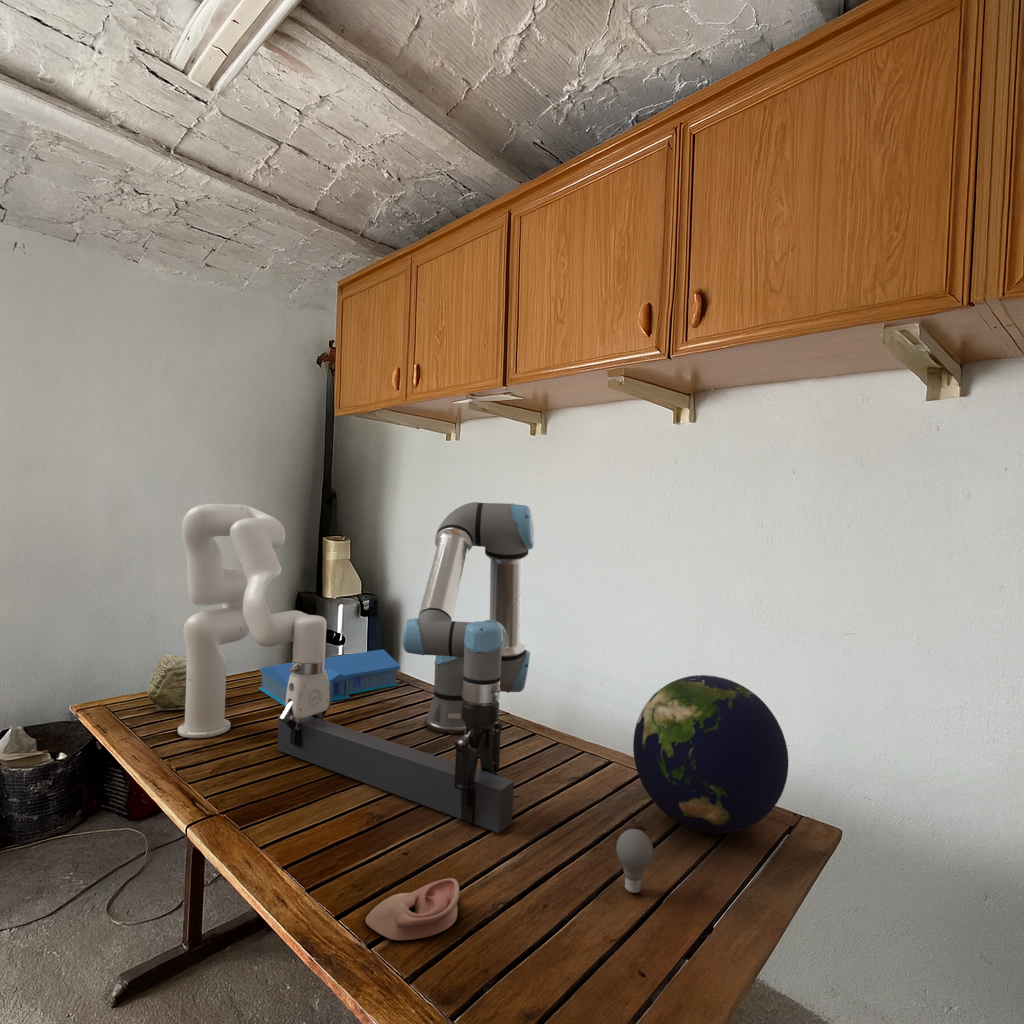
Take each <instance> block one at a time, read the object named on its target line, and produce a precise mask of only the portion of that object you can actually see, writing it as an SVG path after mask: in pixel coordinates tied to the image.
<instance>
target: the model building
mask: <svg viewBox="0 0 1024 1024" xmlns="http://www.w3.org/2000/svg"><path fill="white" fill-rule="evenodd" d="M290 667H292V662H287V663H278V664H272V665H268V666H264V667H263V666H262V667H260V668H259V672H260V673H261V686H260V687H258V690H260V691H261V692H262V693H264V694H265V695H267V696H268V697H270V698H271V699H273V700H274V701H276V702H277V703H279V704H280V705H282V706H283V707H285V704H286V693H287V687H288V682H289V678H290V674H292V672H290V670H289V668H290ZM400 669H401V665H400V664H399V663H398V662H397V661H396V660H395V659H394V658H393V657H392V656H391V654H389V653H388V652H387V651H386V650H385V649H376V650H368V651H363V652H356V653H349V654H342V655H341V654H340V655H335V656H329V657H328V656H327V657H325V668H324V670H326V671H327V674H328V681H329V701H330V702H331V703H332V702H335V701H341V700H346V699H347V700H348V699H350V698H351V695H353V694H359V693H364V692H365V693H366V692H369V691H373V690H381V689H385V688H390V687H391V688H392V687H395V686H399V683H398V682H397V670H400Z"/></svg>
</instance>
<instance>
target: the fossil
mask: <svg viewBox="0 0 1024 1024" xmlns="http://www.w3.org/2000/svg"><path fill="white" fill-rule="evenodd" d="M186 666H187V657H186V656H183V657H182V656H178V655H175V654H174V655H173V654H165V655H164V656H163V657H162V658H161V659H160V660H159V662H158V663H157V666H156V667H155V669H154V670H153V672H152V675H151V677H150V680H149V684H148V688H147V697H148V699H149V700H150V701H152V703H153V704H154V706H155V711H158V712H159V711H162V712H163V711H177V710H185V701H186Z"/></svg>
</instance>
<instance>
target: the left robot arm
mask: <svg viewBox="0 0 1024 1024" xmlns="http://www.w3.org/2000/svg"><path fill="white" fill-rule="evenodd" d="M285 530H286V529H285V527H284V525H283V524H282V523H281V521H280V520H278V519H277V518H275V517H274V516H272V515H269V514H267V513H265V512H264V511H261V510H259V509H258V508H257V509H256V508H255V507H252V506H250V505H247V504H240V503H238V504H237V503H206V504H199V505H196V506H194V507H192V508H191V509H189V510H188V511H187V512H186V514H185V515H184V517H183V519H182V523H181V537H182V540H183V541H182V542H183V545H184V549H185V554H186V556H185V557H186V577H187V579H186V580H187V591H188V592H187V593H188V599H189V601H190V602H191V603H192V604H193V605H195V606H200V607H207V606H208V607H209V606H213V605H220V604H221V608H215V609H209V610H204V611H199V612H196V613H194V614H192V615H191V616H189V617H188V618H187V619H186V620H185V622H184V624H183V629H182V631H183V632H182V634H183V640H184V646H185V657H187V666H186V701H185V709H184V722H182V724H180V725H179V726H178V727H177V734H178V735H179V736H180V737H182V738H188V739H207V738H212V737H216V736H220V735H222V734H224V733H227V732H228V731H230V729H231V727H232V725H231V723H232V722H231V721H230V720H228V719H226V718H225V715H226V692H227V691H226V689H227V659H226V657H225V654H224V653H223V651H222V649H221V646H222V645H226V644H230V643H235V642H237V641H241V640H243V639H245V638H246V637H247V636H248V635H249V633H250V635H251V637H252V638H253V640H254V641H255V642H256V643H257V644H258V645H259V646H262V647H266V648H269V647H275V646H279V645H282V644H283V645H284V644H286V643H291V642H293V643H292V659H291V660H292V661H291V663H292V667H290V668H289V670H290V672H292V674H290V678H289V682H288V687H287V693H286V704H285V706H284V710H283V711H282V714H281V717H280V720H281V721H282V722H284V723H285V724H286V725H287V726H288V727H289V728H291V731H290V744H292V745H295V746H298V747H299V746H301V734H302V730H301V729H300V725H301V721H302V719H303V718H306V717H309V716H312V717H315V718H319V719H322V720H324V717H325V716H326V714H327V711H328V710H329V709H330V707H331V706H332V701H331V702H330V701H329V681H328V674H327V671H326V670H324V668H325V658H326V646H327V645H326V643H327V620H326V618H325V617H324V616H322V615H317V614H308V613H307V612H306V613H305V612H303V611H300V610H296V609H295V610H293V609H292V610H286V611H280V612H276V613H271V612H270V610H269V607H268V605H267V600H266V590H267V587H268V586H269V584H270V583H271V582H273V581H274V580H276V579H277V578H278V577H279V576H280V575H281V573H282V566H281V563H280V561H279V559H278V556H277V554H276V552H275V549H279V548H280V547H282V546H283V544H284V543H285V540H286V531H285ZM214 537H230V541H231V543H232V545H233V549H234V551H235V553H236V557H237V558H238V561H239V564H240V566H241V568H242V570H241V569H240V568H237V567H232V566H231V567H224V565H223V553H222V550H221V548H220V546H219V544H218V542H217V541H216V540H215V539H214ZM290 715H291V717H290V719H289V716H290ZM295 719H297V720H296V723H295Z"/></svg>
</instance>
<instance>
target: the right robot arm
mask: <svg viewBox="0 0 1024 1024" xmlns="http://www.w3.org/2000/svg"><path fill="white" fill-rule="evenodd" d="M534 533H535V531H534V520H533V514H532V510H531V509H530V507H529V506H528V505H525V504H516V503H514V502H512V503H506V502H505V503H503V502H502V503H500V502H479V501H478V502H476V501H474V502H473V501H472V502H468V503H465V504H463V505H461V506H458V507H457V508H455V509H454V510H452V511H451V512H450V513H449V514H448V515H447V516H446V517H445V518H444V519H443V521H442V522H441V523H440V525H439V527H438V529H437V530H436V534H435V538H434V543H435V547H436V549H435V553H434V556H433V560H432V564H431V568H430V571H429V575H428V579H427V582H426V586H425V589H424V590H425V591H424V593H423V597H422V601H421V605H420V609H419V613H418V617H417V618H416V617H414V618H409V619H408V618H407V620H406V621H405V623H404V625H403V629H402V647H403V650H404V651H405V652H406V653H407V654H413V655H419V656H435V659H434V683H433V684H434V685H433V698H432V701H431V703H430V706H429V709H428V711H427V714H426V716H425V717H426V720H425V721H426V722H425V725H426V727H427V729H429V730H432V731H434V732H437V733H442V734H449V735H450V734H451V735H458V734H459V735H460V734H463V736H462V737H461V739H460V738H455V740H454V747H455V761H454V762H455V781H454V787H455V788H456V789H459V790H461V819H460V820H462V821H464V820H465V822H467V823H470V824H472V823H473V822H474V814H475V791H476V789H473V785H474V779H475V774H476V769H477V768H478V762H480V770H481V771H484V772H487V773H490V774H494V775H497V776H498V771H499V769H500V755H501V733H502V729H503V723H502V722H498V721H499V718H500V702H499V700H500V696H501V695H500V692H503V693H507V694H509V693H521V692H523V690H524V689H525V687H526V683H527V676H528V672H529V664H530V658H531V651H530V650H528V649H526V644H525V642H524V641H523V640H522V639H521V626H522V625H521V623H522V622H521V621H522V588H523V587H522V586H523V585H522V584H523V560H524V559H526V558H527V557H528V556H529V551H531V550H533V549H534V547H535V535H534ZM473 547H482V548H484V554H485V556H486V557H487V558H488V559H489V560H490V563H489V564H490V567H489V568H490V571H489V572H490V573H489V619H486V620H481V621H478V620H477V621H456V620H453V618H454V614H455V613H454V612H455V609H456V603H457V599H458V595H459V590H460V584H461V581H462V576H463V570H464V566H465V562H466V561H465V560H466V557H467V555H468V553H470V552H471V550H472V548H473Z"/></svg>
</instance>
